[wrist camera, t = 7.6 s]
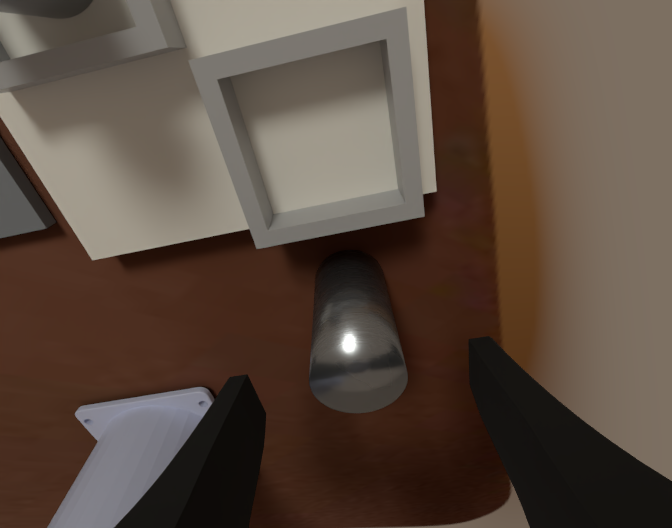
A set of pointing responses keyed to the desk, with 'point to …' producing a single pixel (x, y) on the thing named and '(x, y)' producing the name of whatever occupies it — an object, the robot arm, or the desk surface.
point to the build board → (220, 115)
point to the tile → (19, 200)
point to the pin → (354, 336)
